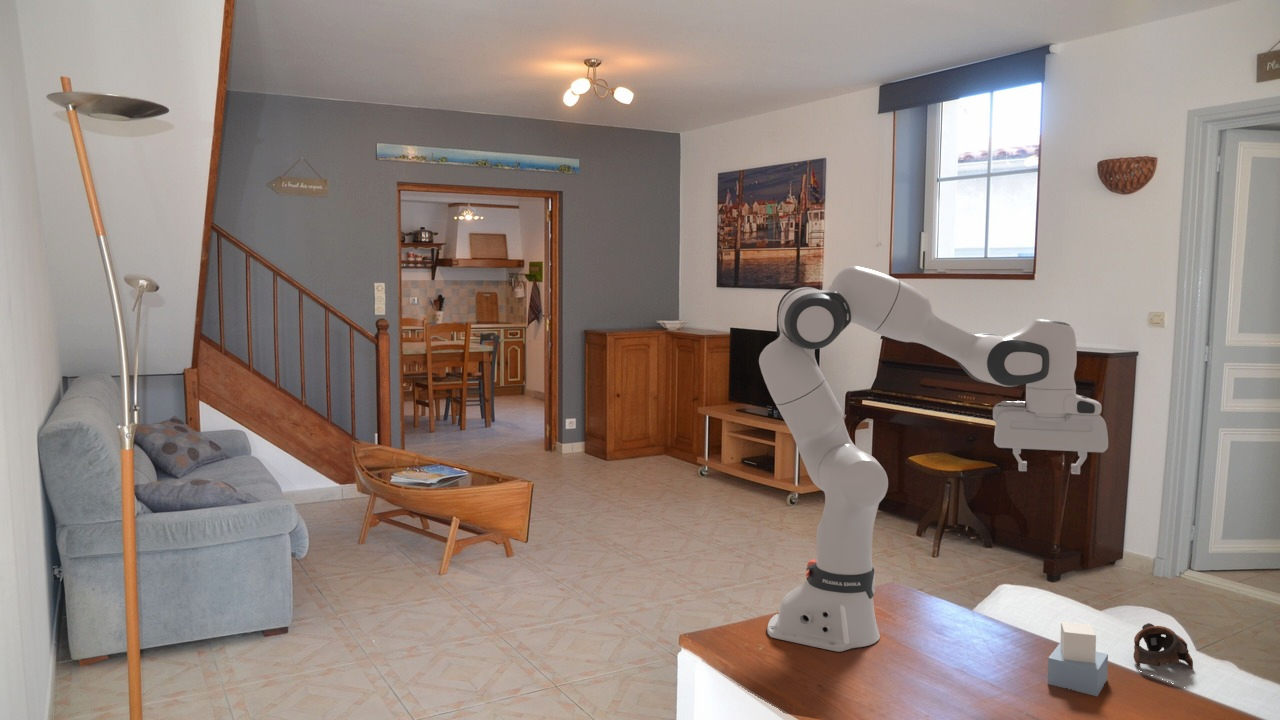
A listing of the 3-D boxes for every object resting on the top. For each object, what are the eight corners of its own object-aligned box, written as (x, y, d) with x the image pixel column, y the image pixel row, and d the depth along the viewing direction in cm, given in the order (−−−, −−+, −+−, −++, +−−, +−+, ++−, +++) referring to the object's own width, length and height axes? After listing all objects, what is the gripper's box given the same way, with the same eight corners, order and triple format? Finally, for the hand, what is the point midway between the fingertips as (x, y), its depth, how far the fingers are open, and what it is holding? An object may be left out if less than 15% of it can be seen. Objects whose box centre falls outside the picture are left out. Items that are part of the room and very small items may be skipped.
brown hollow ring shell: (1208, 678, 157) (1194, 644, 155) (1156, 698, 159) (1142, 664, 157) (1172, 636, 169) (1158, 604, 166) (1124, 655, 170) (1110, 623, 168)
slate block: (1047, 685, 155) (1048, 657, 154) (1058, 669, 161) (1059, 643, 161) (1097, 697, 150) (1098, 669, 149) (1107, 681, 156) (1108, 654, 156)
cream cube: (1063, 659, 154) (1064, 632, 153) (1060, 648, 158) (1061, 621, 158) (1095, 663, 152) (1096, 635, 152) (1091, 651, 157) (1091, 624, 156)
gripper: (993, 402, 171) (991, 472, 172) (1110, 406, 163) (1108, 478, 164) (992, 398, 177) (991, 466, 178) (1106, 402, 169) (1104, 472, 170)
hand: (1048, 472), depth 171 cm, fingers open, 8 cm apart
